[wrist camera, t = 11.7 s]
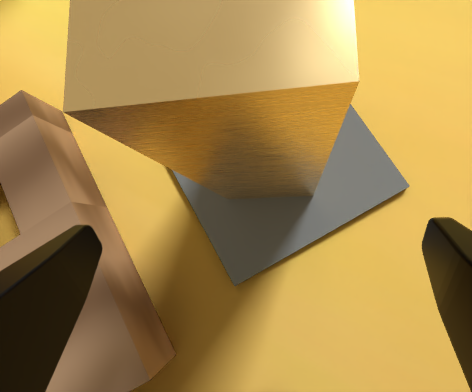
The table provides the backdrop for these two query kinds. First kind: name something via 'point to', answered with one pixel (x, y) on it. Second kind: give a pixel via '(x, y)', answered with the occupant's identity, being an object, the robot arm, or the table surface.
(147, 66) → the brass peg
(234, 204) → the slate mat
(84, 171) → the two-hole peg block
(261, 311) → the table surface
